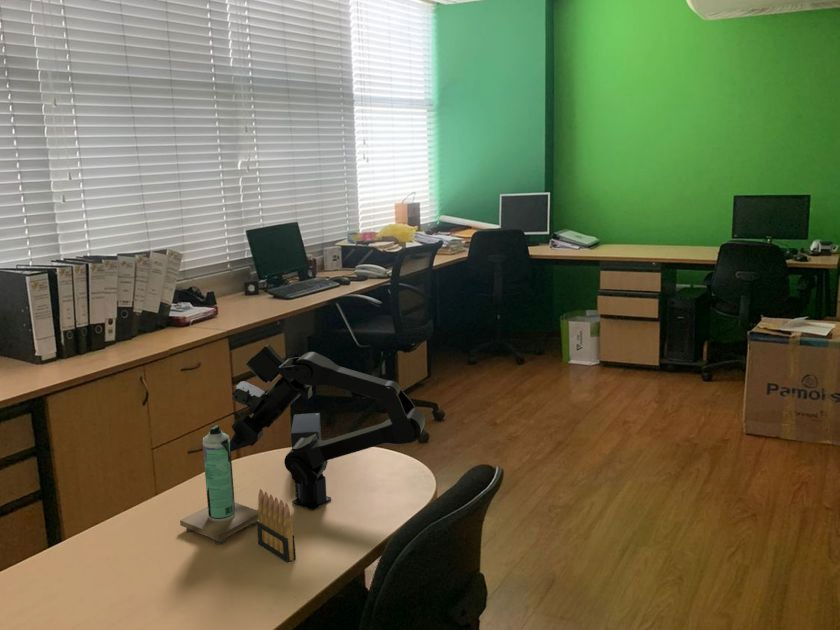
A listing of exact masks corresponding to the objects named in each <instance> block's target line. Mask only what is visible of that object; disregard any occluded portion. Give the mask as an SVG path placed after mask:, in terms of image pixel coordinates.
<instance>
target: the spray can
mask: <svg viewBox="0 0 840 630" xmlns="http://www.w3.org/2000/svg"><path fill="white" fill-rule="evenodd" d="M230 441H231V438H230V435H229V434H227V433H226V432H224V431H223V430H221V429H220V425H218V424H216V425H215V424H214V425H211V426H210V431H208V434H207V435H205V436H203V438H202V450H203V451H202V454H203V462H204V463H203V465H204V476H205V489H206V498H207V501H206V502H207V507H208V513H209V519H210V520H211V521H214V522H224V521H228V520H230V519H232V518H234V517H235V503H236V501H235V491H234V490H235V489H234V478H233V476H234V475H233V464H232V452H231V448H230Z"/></svg>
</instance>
